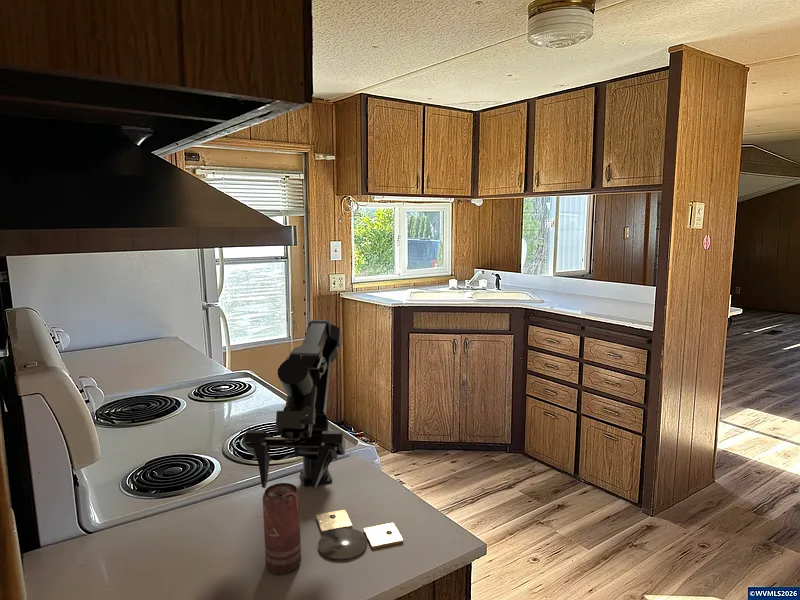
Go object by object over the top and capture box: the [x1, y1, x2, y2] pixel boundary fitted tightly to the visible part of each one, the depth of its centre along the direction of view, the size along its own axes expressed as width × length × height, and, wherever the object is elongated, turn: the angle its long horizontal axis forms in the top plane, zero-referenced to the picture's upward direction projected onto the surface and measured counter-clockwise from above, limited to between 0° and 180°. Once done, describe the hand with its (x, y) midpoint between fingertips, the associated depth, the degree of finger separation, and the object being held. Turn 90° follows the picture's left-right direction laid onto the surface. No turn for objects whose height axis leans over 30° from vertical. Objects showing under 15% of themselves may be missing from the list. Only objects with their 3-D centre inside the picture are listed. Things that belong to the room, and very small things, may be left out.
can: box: [262, 482, 302, 575], centre depth 96 cm, size 6×6×14 cm
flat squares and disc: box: [315, 509, 404, 561], centre depth 106 cm, size 15×15×1 cm
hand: (288, 488), depth 100 cm, fingers open, 9 cm apart
